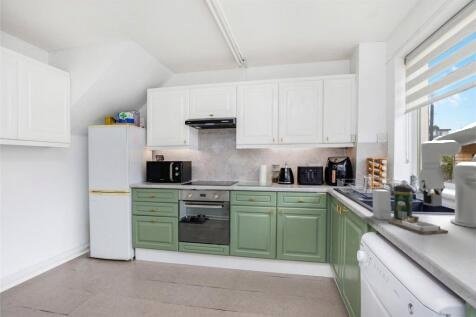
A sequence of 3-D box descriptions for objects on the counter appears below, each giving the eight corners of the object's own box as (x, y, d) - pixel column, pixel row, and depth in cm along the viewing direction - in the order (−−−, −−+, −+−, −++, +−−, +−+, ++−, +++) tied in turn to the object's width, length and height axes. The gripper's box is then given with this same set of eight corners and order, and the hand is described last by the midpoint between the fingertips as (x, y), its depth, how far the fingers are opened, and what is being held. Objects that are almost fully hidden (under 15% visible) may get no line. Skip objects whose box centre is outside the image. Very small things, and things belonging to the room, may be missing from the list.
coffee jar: (396, 214, 134) (397, 183, 134) (413, 217, 128) (414, 184, 128) (391, 217, 128) (392, 184, 127) (408, 220, 122) (409, 186, 121)
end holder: (419, 223, 113) (419, 220, 113) (440, 230, 103) (440, 226, 103) (401, 224, 111) (401, 221, 111) (421, 231, 101) (421, 227, 101)
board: (411, 221, 121) (411, 214, 120) (448, 232, 103) (448, 225, 103) (388, 222, 118) (388, 215, 118) (422, 234, 100) (422, 226, 100)
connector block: (431, 203, 117) (431, 192, 117) (441, 205, 112) (441, 193, 112) (423, 204, 116) (423, 192, 116) (433, 206, 111) (433, 194, 111)
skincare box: (391, 220, 123) (391, 191, 123) (377, 219, 124) (378, 190, 124) (384, 216, 131) (384, 189, 131) (371, 215, 132) (372, 188, 132)
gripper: (437, 165, 119) (438, 199, 119) (410, 167, 116) (411, 202, 116) (453, 165, 112) (454, 202, 112) (424, 167, 109) (425, 205, 109)
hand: (432, 202), depth 114 cm, fingers closed on connector block, 5 cm apart
